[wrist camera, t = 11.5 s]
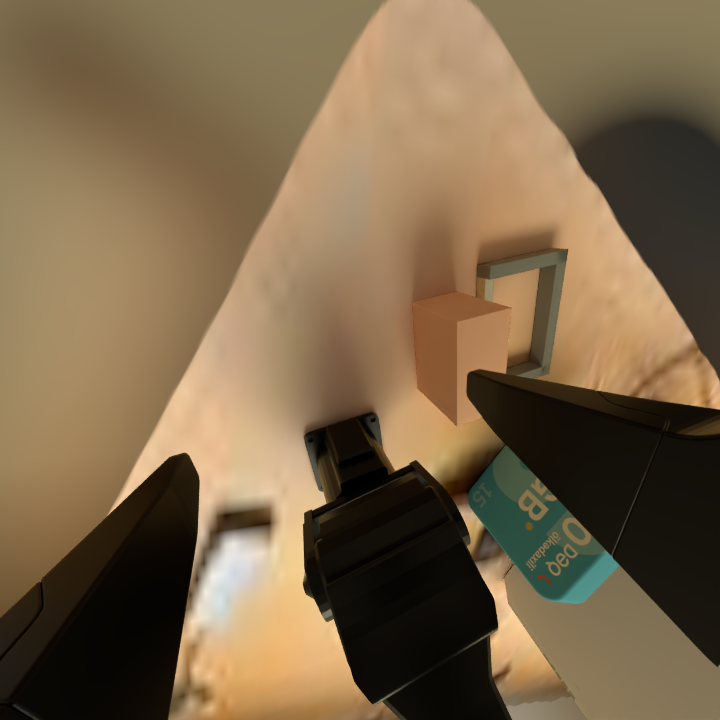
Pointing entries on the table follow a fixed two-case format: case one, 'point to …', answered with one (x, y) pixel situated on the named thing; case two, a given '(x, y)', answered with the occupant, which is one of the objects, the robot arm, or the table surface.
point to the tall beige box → (458, 348)
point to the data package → (539, 532)
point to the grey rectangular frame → (546, 305)
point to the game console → (619, 652)
